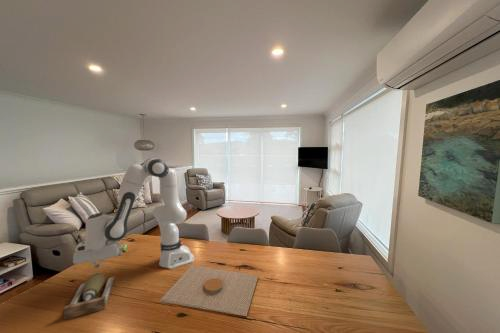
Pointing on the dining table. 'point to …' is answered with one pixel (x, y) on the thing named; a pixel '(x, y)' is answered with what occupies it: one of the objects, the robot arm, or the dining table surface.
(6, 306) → the dining table surface
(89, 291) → the squeeze bottle
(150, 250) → the dining table surface
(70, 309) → the cradle
